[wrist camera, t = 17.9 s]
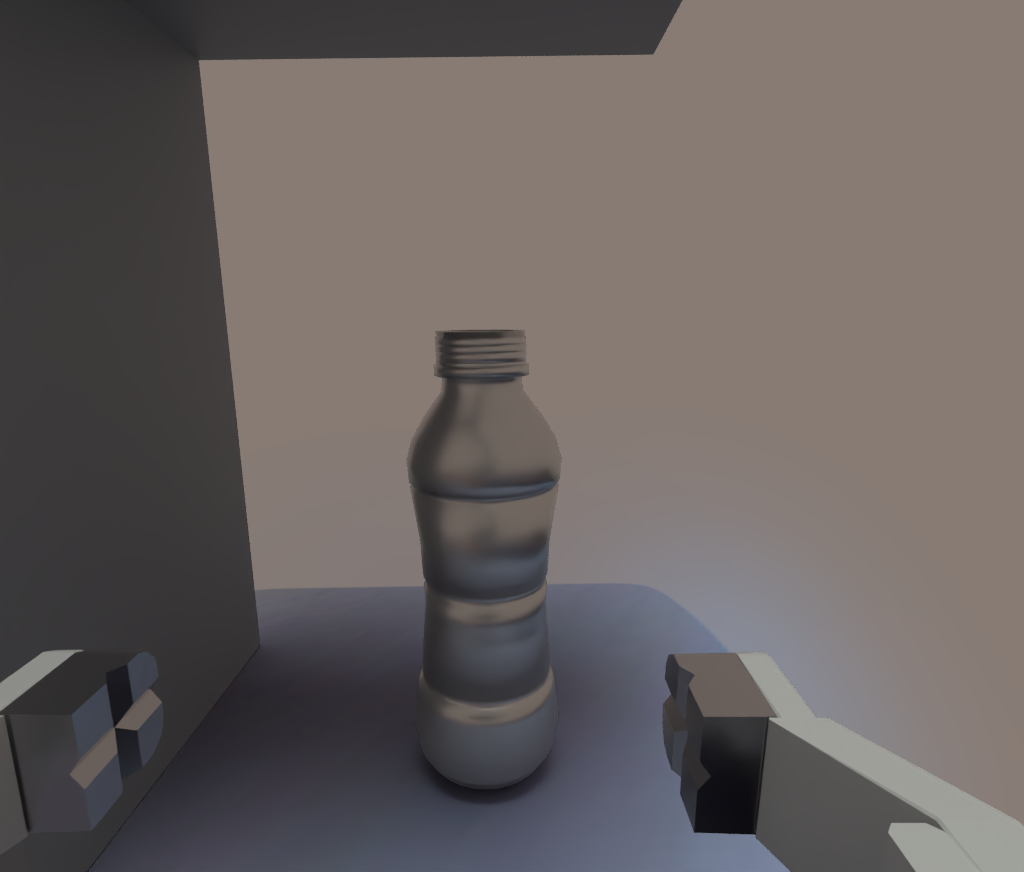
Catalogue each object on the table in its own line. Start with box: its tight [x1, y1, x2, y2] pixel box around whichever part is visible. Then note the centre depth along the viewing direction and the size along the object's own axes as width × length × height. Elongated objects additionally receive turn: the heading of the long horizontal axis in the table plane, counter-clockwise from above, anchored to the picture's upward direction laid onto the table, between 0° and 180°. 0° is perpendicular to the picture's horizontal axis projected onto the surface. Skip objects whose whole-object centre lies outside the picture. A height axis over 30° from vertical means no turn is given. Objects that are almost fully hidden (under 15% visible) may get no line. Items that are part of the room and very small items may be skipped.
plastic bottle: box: [407, 330, 561, 789], centre depth 26 cm, size 6×7×20 cm
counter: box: [0, 0, 682, 872], centre depth 26 cm, size 26×18×36 cm
